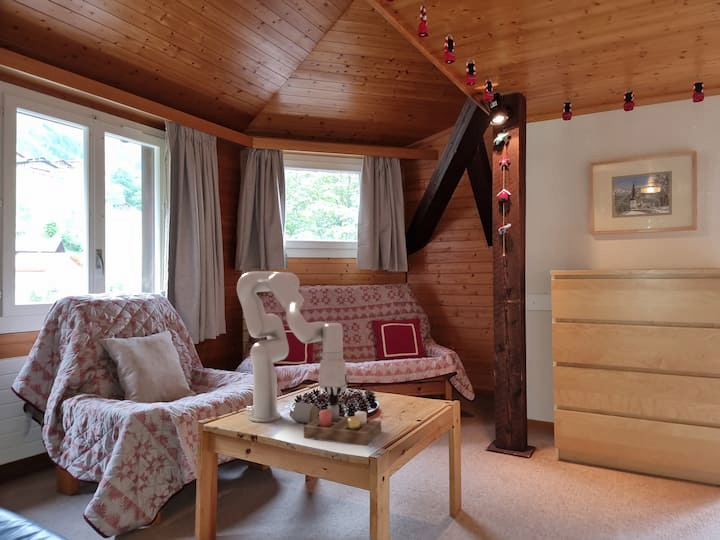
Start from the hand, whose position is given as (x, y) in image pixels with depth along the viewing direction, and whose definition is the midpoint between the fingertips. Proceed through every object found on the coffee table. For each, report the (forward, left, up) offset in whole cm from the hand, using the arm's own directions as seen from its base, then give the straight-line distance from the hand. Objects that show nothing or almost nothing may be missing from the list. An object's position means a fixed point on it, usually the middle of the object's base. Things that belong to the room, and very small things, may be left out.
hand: (333, 404), depth 193 cm
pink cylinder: (0, -7, -6) cm, 9 cm away
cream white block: (+11, 0, -7) cm, 13 cm away
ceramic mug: (-15, +7, -10) cm, 19 cm away
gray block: (0, 0, -6) cm, 6 cm away
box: (+5, -3, -10) cm, 11 cm away
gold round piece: (+11, -7, -7) cm, 15 cm away
